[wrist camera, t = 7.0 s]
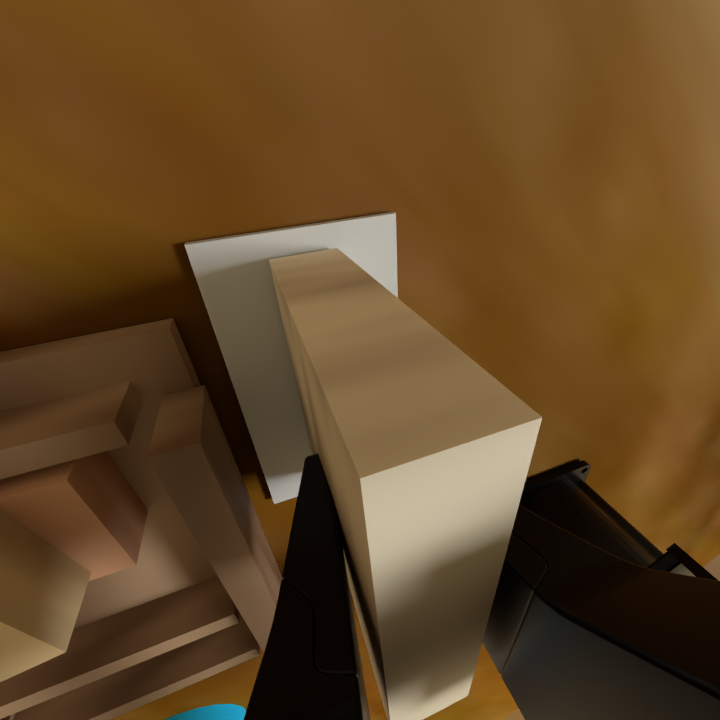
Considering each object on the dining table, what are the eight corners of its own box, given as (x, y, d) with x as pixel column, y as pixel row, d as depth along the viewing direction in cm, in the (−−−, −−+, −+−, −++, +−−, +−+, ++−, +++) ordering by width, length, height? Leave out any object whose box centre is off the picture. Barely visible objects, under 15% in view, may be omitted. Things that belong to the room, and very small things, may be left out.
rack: (183, 316, 10) (169, 376, 7) (294, 599, 20) (306, 672, 17) (-527, 455, 7) (-1018, 652, 4) (17, 711, 17) (-24, 822, 14)
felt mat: (391, 211, 11) (396, 213, 10) (398, 457, 16) (401, 461, 16) (185, 242, 9) (184, 245, 9) (273, 498, 15) (274, 504, 15)
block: (361, 459, 15) (467, 695, 8) (316, 473, 14) (392, 736, 8) (337, 247, 10) (541, 417, 4) (268, 259, 10) (360, 478, 3)
